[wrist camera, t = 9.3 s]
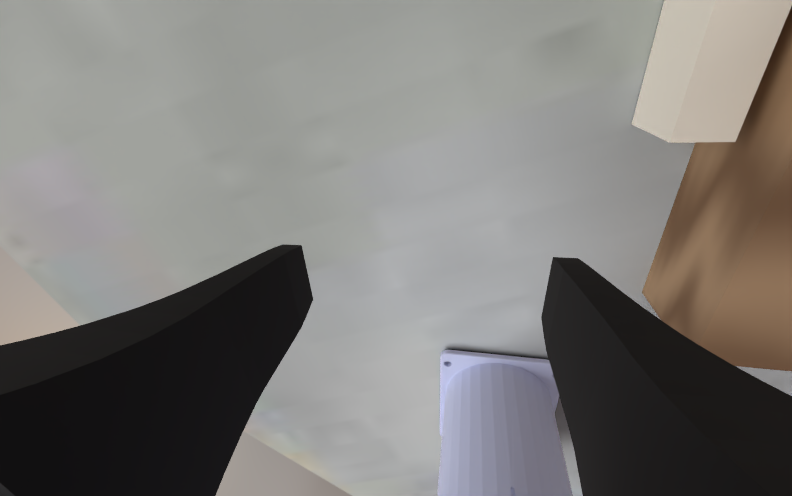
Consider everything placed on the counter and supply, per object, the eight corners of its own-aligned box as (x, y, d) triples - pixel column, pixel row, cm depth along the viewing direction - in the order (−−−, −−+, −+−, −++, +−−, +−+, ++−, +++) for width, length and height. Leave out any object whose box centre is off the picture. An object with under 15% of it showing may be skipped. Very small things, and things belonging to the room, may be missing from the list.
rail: (725, 297, 18) (801, 372, 14) (641, 292, 19) (689, 361, 15) (896, -38, 12) (1141, -88, 7) (755, -25, 12) (903, -64, 8)
